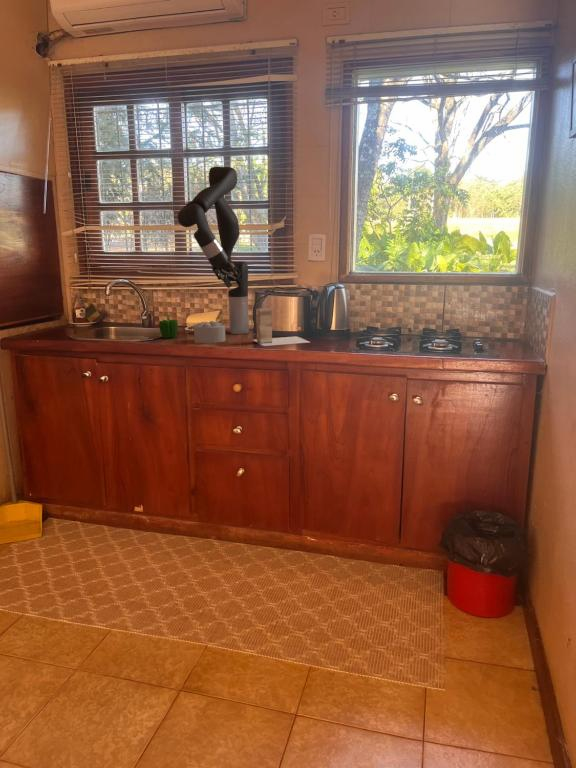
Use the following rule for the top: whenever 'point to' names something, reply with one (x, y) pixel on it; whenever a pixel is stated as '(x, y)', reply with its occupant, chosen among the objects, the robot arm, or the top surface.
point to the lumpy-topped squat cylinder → (209, 332)
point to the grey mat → (284, 341)
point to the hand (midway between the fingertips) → (235, 286)
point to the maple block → (264, 325)
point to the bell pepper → (168, 328)
